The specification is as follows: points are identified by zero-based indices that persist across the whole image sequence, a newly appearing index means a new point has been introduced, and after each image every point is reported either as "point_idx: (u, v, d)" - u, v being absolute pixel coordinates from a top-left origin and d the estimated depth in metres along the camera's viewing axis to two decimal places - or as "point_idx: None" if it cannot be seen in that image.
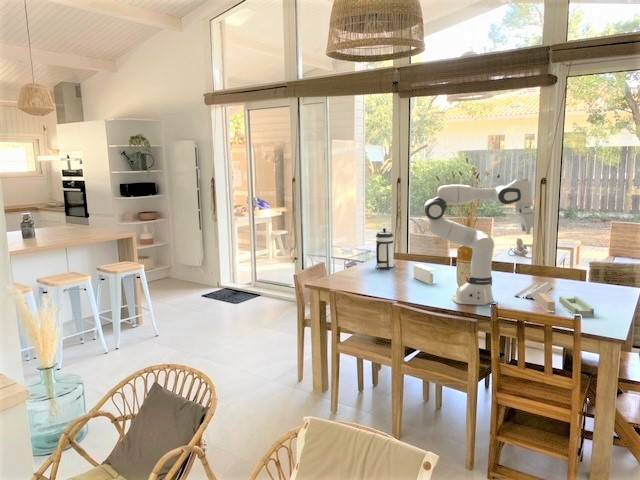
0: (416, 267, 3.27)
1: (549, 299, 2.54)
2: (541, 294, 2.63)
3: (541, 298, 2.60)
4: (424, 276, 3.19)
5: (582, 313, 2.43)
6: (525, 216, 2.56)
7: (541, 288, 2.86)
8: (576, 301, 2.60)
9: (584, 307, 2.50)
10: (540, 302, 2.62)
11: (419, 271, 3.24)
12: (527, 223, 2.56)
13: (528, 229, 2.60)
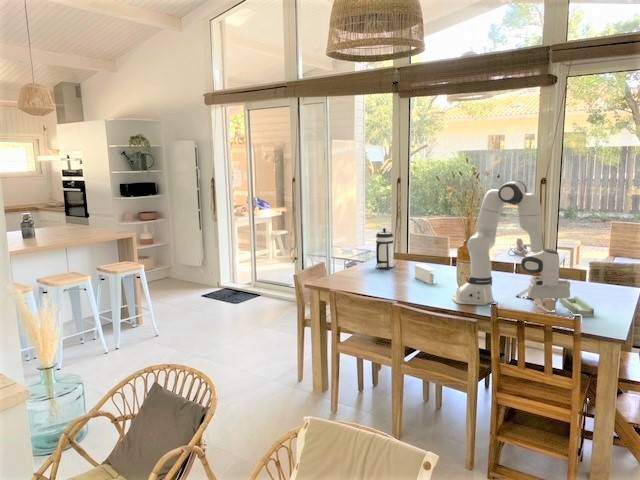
0: (417, 267, 3.27)
1: (549, 299, 2.54)
2: None
3: None
4: (424, 276, 3.19)
5: (582, 313, 2.43)
6: (529, 285, 2.56)
7: None
8: (576, 301, 2.60)
9: (584, 307, 2.50)
10: (538, 302, 2.62)
11: (420, 271, 3.24)
12: (528, 292, 2.56)
13: (540, 300, 2.55)
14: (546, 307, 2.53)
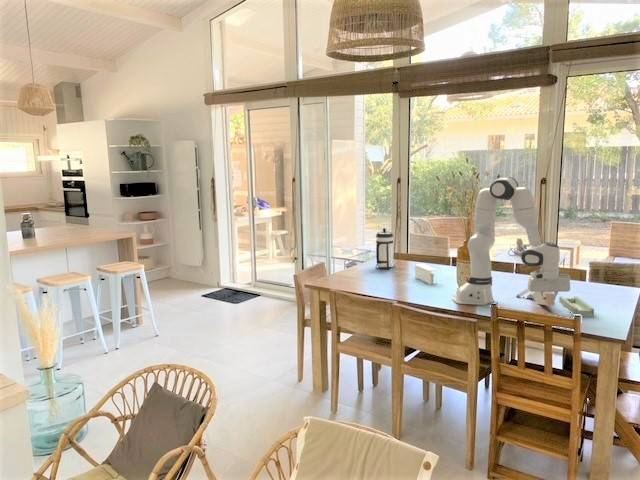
0: (417, 267, 3.27)
1: (548, 293, 2.55)
2: None
3: None
4: (424, 276, 3.19)
5: (582, 313, 2.43)
6: (529, 279, 2.55)
7: None
8: (576, 301, 2.60)
9: (584, 307, 2.50)
10: (540, 300, 2.61)
11: (420, 271, 3.24)
12: (528, 286, 2.55)
13: None
14: (545, 301, 2.53)
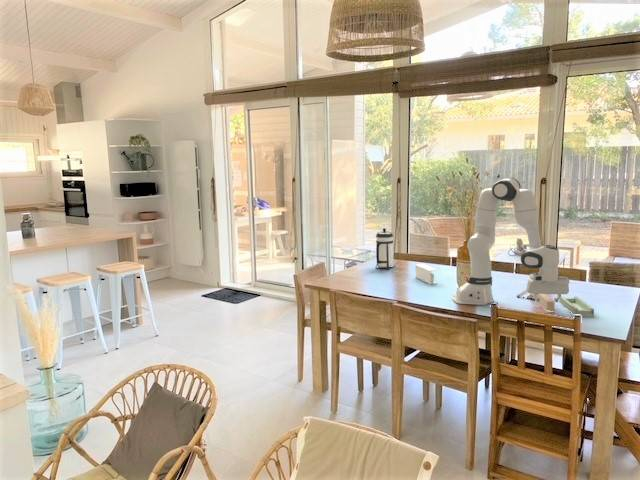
0: (418, 267, 3.27)
1: (549, 299, 2.54)
2: (542, 294, 2.63)
3: (541, 298, 2.60)
4: (425, 276, 3.19)
5: (582, 313, 2.43)
6: (528, 280, 2.56)
7: None
8: (576, 301, 2.60)
9: (584, 307, 2.50)
10: (540, 302, 2.62)
11: (420, 271, 3.24)
12: None
13: None
14: (545, 307, 2.53)
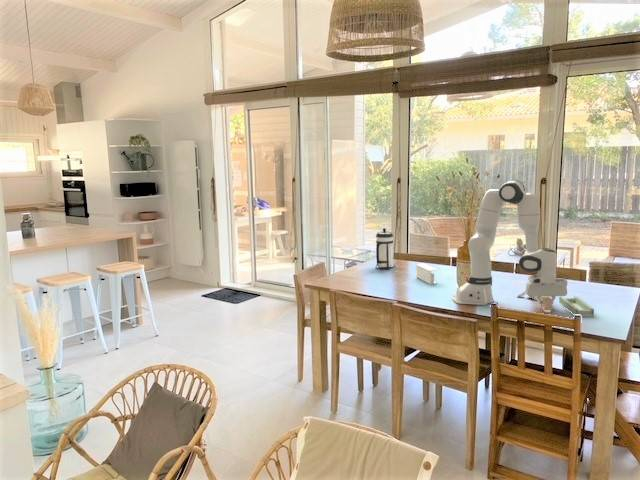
0: (418, 267, 3.28)
1: (548, 299, 2.54)
2: None
3: (541, 298, 2.60)
4: (425, 276, 3.19)
5: (582, 313, 2.43)
6: (527, 283, 2.60)
7: None
8: (576, 301, 2.60)
9: (584, 307, 2.50)
10: None
11: (421, 271, 3.24)
12: None
13: None
14: (544, 307, 2.54)
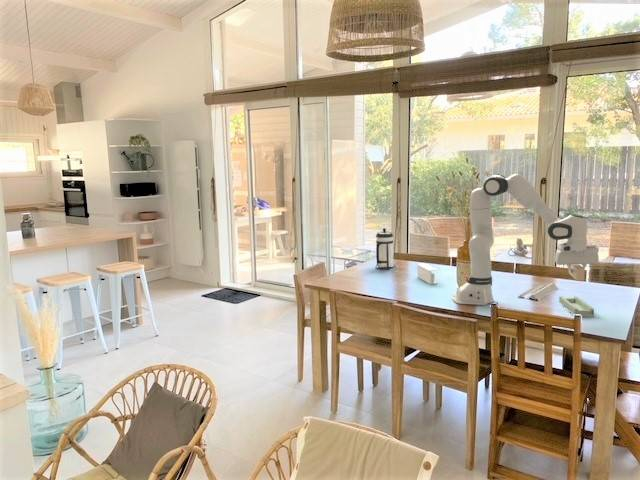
0: (419, 266, 3.28)
1: (579, 267, 2.46)
2: None
3: (571, 266, 2.52)
4: (425, 276, 3.20)
5: (582, 313, 2.43)
6: (556, 252, 2.52)
7: (546, 289, 2.85)
8: (576, 301, 2.60)
9: (584, 307, 2.50)
10: None
11: (422, 271, 3.25)
12: (555, 259, 2.52)
13: (568, 267, 2.51)
14: (575, 275, 2.46)
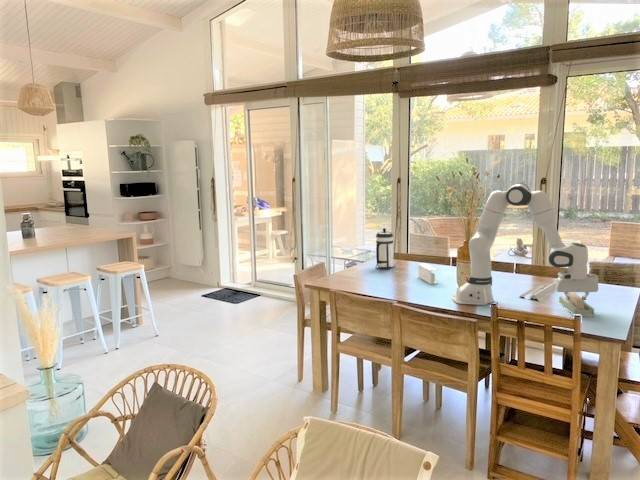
0: (420, 266, 3.28)
1: (579, 298, 2.49)
2: (571, 293, 2.58)
3: (571, 297, 2.55)
4: (426, 276, 3.20)
5: (582, 313, 2.43)
6: None
7: (547, 289, 2.84)
8: None
9: (584, 307, 2.50)
10: (570, 301, 2.57)
11: (422, 270, 3.25)
12: (555, 286, 2.54)
13: (565, 294, 2.54)
14: None
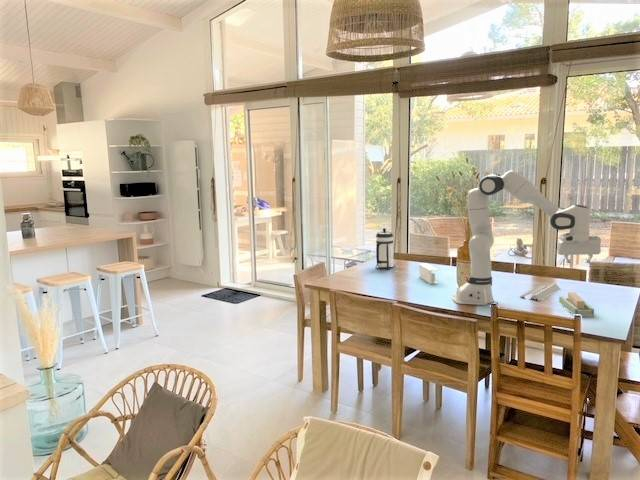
0: (421, 266, 3.28)
1: (579, 298, 2.49)
2: (571, 293, 2.58)
3: (571, 297, 2.55)
4: (426, 276, 3.20)
5: (582, 313, 2.43)
6: (558, 242, 2.51)
7: (548, 289, 2.84)
8: None
9: (584, 307, 2.50)
10: (570, 301, 2.57)
11: (423, 270, 3.25)
12: (557, 249, 2.51)
13: (565, 257, 2.50)
14: None
